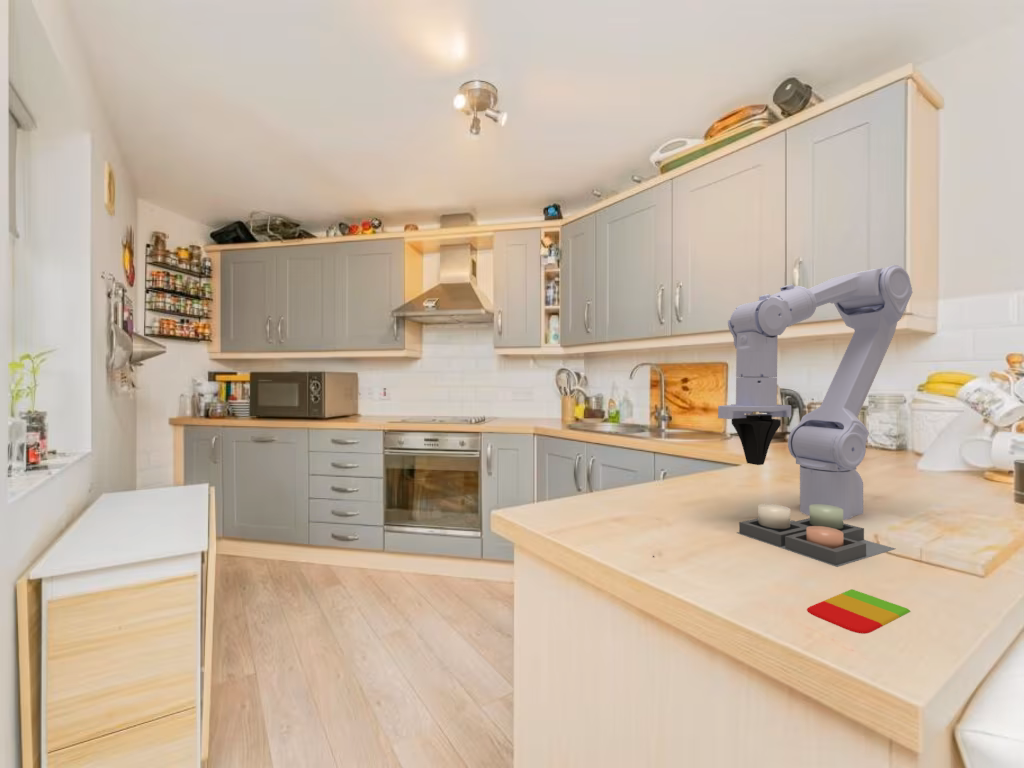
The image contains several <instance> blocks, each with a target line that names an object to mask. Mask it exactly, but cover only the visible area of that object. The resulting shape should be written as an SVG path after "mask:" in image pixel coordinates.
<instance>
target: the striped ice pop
mask: <svg viewBox="0 0 1024 768" xmlns="http://www.w3.org/2000/svg"><path fill="white" fill-rule="evenodd" d="M806 611H807V613H808V614H810V615H812V616H814V617H816V618H818V619H821V620H824V621H825V622H827V623H830V624H832V625H834V626H837V627H839V628H842V629H845V630H846V631H850V632H852V633H857V634H862V635H863V634H870V633H872V632H874V631H877V630H878V629H880V628H882V627H884V626H886V625H888V624H890V623H892V622H893V621H896V620H897V619H900V618H902V617H904V616H905V615H907V614H909V613H911V610H910V609H909V608H908V607H904V606H901V605H899V604H896V603H893V602H889V601H887V600H885V599H881V598H878V597H876V596H873V595H870V594H867V593H864V592H861V591H858V590H855V589H849V590H846V591H844V592H842V593H839V594H836V595H834V596H832V597H830V598H827V599H825V600H821V601H820V602H818V603H815V604H813V605H810V606H809V607H807V608H806Z"/></svg>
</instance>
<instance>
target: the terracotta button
mask: <svg viewBox="0 0 1024 768" xmlns="http://www.w3.org/2000/svg"><path fill="white" fill-rule="evenodd" d="M806 536H807V541H809V542H812V543H815V544H819V545H822V546H825V547H828V548H832V549H834V548H838V547H842V546H844V544H843V532H842V531H840V530H837V529H834V528H830V527H823V526H809V527H807V528H806Z"/></svg>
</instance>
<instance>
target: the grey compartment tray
mask: <svg viewBox="0 0 1024 768" xmlns="http://www.w3.org/2000/svg"><path fill="white" fill-rule="evenodd" d="M738 525H739V528H738V529H739V530H738V532H736V534H738V535H741V536H744V537H746V538H749V539H753V540H756V541H759V542H761V543H765V544H767V545H771V546H773V547H777V548H780V549H783V550H785V551H788V552H791V553H795V554H797V555H800V556H803V557H805V558H809V559H813V560H815V561H818V562H822V563H824V564H827V565H829V566H833V567H837V568H838V567H842V566H845V565H849V564H852V563H855V562H859V561H861V560H865V559H869V558H871V557H874V556H878V555H882V554H885V553H887V552H891V551H894V550H896V548H894V547H891V546H889V545H884V544H880V543H877V542H874V541H870V540H865V528H863V527H860V526H856V525H852V524H848V523H844V522H843V528H842V529H837V530H840V531H842V532H843V544H844V546H842V547H838V548H834V549H832V548H828V547H825V546H822V545H819V544H815V543H812V542H809V541H807V536H806V528H807V527H809V526H814V525H812V524H810V517H808V518H805V519H800V520H790V528H786V529H776V528H770V527H765V526H762V525H760V524H759V523H758V517H757V518H754V519H753V518H752V519H749V520H743V521H739V523H738Z"/></svg>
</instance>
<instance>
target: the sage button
mask: <svg viewBox="0 0 1024 768" xmlns="http://www.w3.org/2000/svg"><path fill="white" fill-rule="evenodd" d="M809 508H810V516H809V518H810V524H812V525H814V526H823V527H830V528H834V529H842V528H843V523H844V520H843V509H842V508H839V507H836V506H831V505H824V504H813V505H810V506H809Z"/></svg>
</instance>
